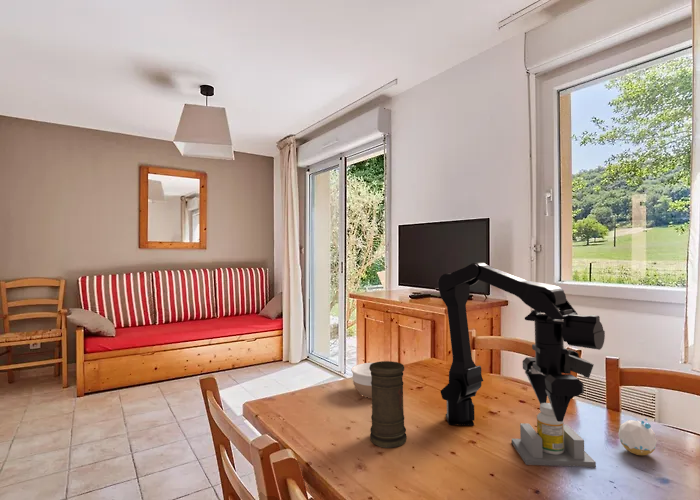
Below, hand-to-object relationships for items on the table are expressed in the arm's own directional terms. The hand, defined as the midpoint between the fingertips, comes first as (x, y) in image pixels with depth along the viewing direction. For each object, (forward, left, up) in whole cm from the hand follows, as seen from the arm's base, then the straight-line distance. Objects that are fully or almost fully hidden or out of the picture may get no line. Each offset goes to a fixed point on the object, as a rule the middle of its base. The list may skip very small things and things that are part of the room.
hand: (551, 412), depth 89 cm
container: (-36, +5, -9) cm, 38 cm away
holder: (0, 0, -9) cm, 9 cm away
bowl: (-40, +38, -10) cm, 56 cm away
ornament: (+19, +2, -9) cm, 21 cm away
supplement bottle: (0, 0, -8) cm, 8 cm away
